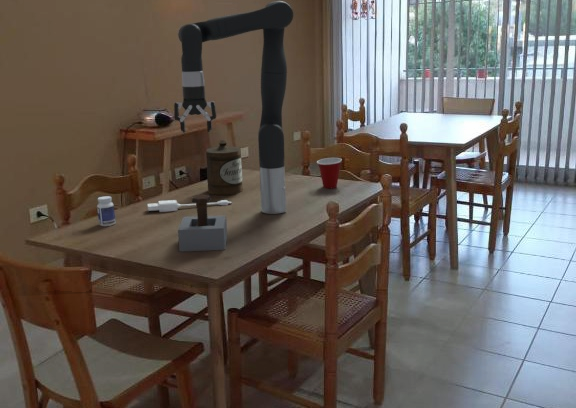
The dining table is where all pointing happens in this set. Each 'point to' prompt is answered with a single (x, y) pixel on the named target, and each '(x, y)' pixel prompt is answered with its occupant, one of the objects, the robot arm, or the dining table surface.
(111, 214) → the pill bottle
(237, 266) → the dining table surface
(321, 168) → the plastic cup
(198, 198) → the bolt
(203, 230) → the holder
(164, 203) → the charging cable
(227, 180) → the wooden container
